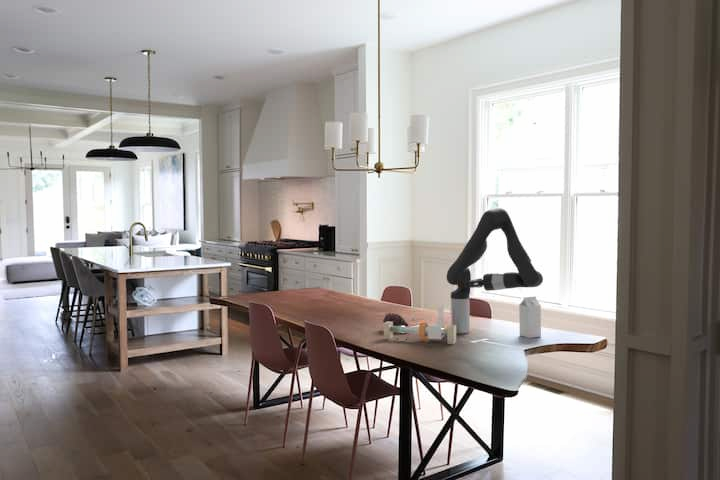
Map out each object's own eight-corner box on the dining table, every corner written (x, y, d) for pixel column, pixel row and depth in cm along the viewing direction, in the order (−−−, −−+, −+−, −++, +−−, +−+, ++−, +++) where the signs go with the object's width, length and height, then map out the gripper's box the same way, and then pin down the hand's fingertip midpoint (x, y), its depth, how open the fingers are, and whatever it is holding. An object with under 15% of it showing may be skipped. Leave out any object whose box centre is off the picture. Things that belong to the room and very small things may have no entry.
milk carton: (519, 335, 279) (519, 296, 279) (531, 334, 282) (531, 295, 281) (528, 338, 273) (528, 298, 272) (541, 336, 275) (540, 297, 274)
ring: (428, 337, 275) (428, 321, 275) (423, 340, 268) (423, 324, 267) (423, 336, 276) (423, 320, 275) (419, 340, 269) (418, 323, 268)
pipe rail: (457, 340, 270) (456, 324, 270) (453, 345, 262) (452, 327, 262) (388, 336, 283) (388, 320, 283) (382, 340, 275) (382, 324, 274)
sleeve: (443, 336, 271) (443, 305, 270) (440, 339, 266) (440, 307, 265) (431, 335, 273) (430, 304, 273) (428, 338, 268) (427, 306, 267)
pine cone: (415, 331, 295) (412, 317, 290) (403, 343, 290) (399, 328, 285) (391, 318, 307) (387, 304, 301) (378, 329, 302) (374, 315, 297)
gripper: (499, 272, 262) (465, 275, 270) (489, 274, 250) (454, 277, 258) (501, 288, 261) (467, 291, 270) (491, 291, 249) (456, 294, 257)
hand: (461, 284), depth 264 cm, fingers open, 8 cm apart
